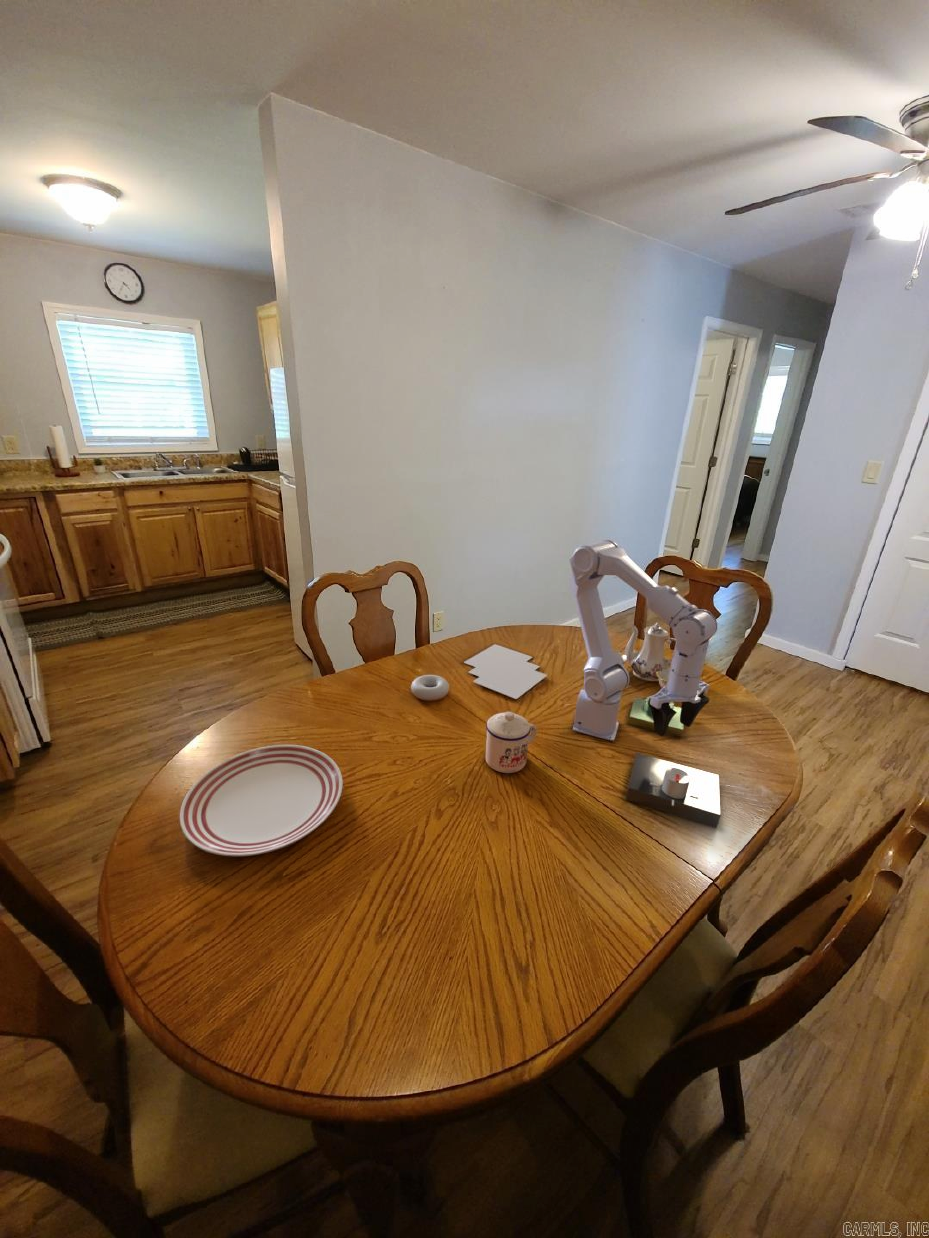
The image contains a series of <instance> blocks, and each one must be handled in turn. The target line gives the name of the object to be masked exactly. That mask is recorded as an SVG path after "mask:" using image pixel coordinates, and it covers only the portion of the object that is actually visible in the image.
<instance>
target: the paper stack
mask: <svg viewBox="0 0 929 1238" xmlns="http://www.w3.org/2000/svg"><path fill="white" fill-rule="evenodd" d="M532 659H533V656H531V655H528V654H525V653H523V652H519V651H517V650H514V649H510V648H508V647H505V646H502V645H499V644H496V643H495V644H492V645H491V646H489V647H487V648H486V649H484V650H482V651H480V652H479V653H477V654H475V655H473V656H472V657H470V658H468V659H467V660H465V661H463V663H464V664H466V665H468V666H471V667H474V668H472V669H470V670H469V671H468V672H467V673H468V674H471V675H474V676H476V677H477V678H475V679H474V680H473V681H472V683H475V684H478V685H479V686H482V687H485V688H488V689H490V690H492V691H494V692H496V693H497V692H498V693H499V694H502V695H504V696H507V697H510V698H512V699H515V700H517V699H519V698H520V697H521V696H523V695H524V694H525V693H526V692H528V691H529V690H531V689H532V688H533V687H534V686H535V685H537V684H538V683H540V682H541V681H542V680H544V679H545V678H546V677H548V674H547V673H543V672H541V671H538V670H537V669H538V668H540V667H541V666H540V665H537V664H534V663H532V662H529V661H530V660H532Z"/></svg>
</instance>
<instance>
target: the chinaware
mask: <svg viewBox="0 0 929 1238" xmlns="http://www.w3.org/2000/svg"><path fill="white" fill-rule="evenodd" d="M630 628H632V629H631V630H632V635H631V636H630V638H629V640H628V642H627V643H626V645H625V649H624V654H623V653H622V652H621V651H620V650H618V649H612V650H613V653H614V654H615V655H617V656H618V657H620V658H621V660H622V664H623V666H624V665H625V663H626V662H628V663H629V664H630V667H631V669H632V674H633V676H634V677H636V678H638V679H639V680H642V681H646V682H652V683H655V682H658V684H659V687H660V688H661V689H662V688H663V687H664V686H665V685H667V681H668V676H669V671H670V667H671V662H672V658H666V654H665V643H667V644H668V645H671V644H672V641H674V642H676V639H675V637H668V636H669V632H668V631H667V630H665V629H664V628H663V627H662V626H661V625H660V623H659V622H656V623H655V624H654V625H651V626H649V627H645V628H644V629H643V631H644V639H643V642H642V644H641V647H640V648H639V650H636V649H635V647H636V646H635V645H636V643H637V640H638V636H639V630H638V628H637V627H636V625H633V624H631V625H630Z"/></svg>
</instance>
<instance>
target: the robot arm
mask: <svg viewBox="0 0 929 1238" xmlns="http://www.w3.org/2000/svg"><path fill="white" fill-rule="evenodd" d="M569 565H570V568H571V573H570V574H571V575H570V588H571V591H572V592H571V593H572V595H573V600H574V603H575V608H576V612H577V616H578V620H579V624H580V629H581V633H582V636H583V641H584V645H585V648H586V652H587V657H588V660H587V661H586V663H585V665H584V668H583V670H582V671H583V672H582V673H583V676H584V678H583V688H584V689H580V691H579V694H578V696H577V701H576V707H575V713H574V723H573V727H572V731H573V732H576V733H577V732H578V733H582V734H585V735H588V736H592V737H595V738H600V739H603V740H607V741H610V742H614V741H615V739H616V735H617V732H618V729H619V724H620V722H619V721H618V716H619V710H620V704H621V700H622V694H623V690H625V689H626V688H627V687H628V686H629V685H630V675H629V671H628V670H627V668H625V666H624V665H623V664H622V660H621V658H620V657H618V656H617V655H615V654H614V653H613V650H614V649H613V647H612V642H611V638H610V635H609V630H608V626H607V622H606V618H605V614H604V609H603V605H602V601H601V597H600V593H599V589H598V585H599V584H600V582H601V581H602V580H603V578H604V577H605V576H616V577H617V578H619V579H620V580H621V581H623V582H624V583H626V584H627V585H628V586H629V587H630V588H632V589H633V590H635V592H637V593H638V594H640V595H641V596H642V597H644V598H645V599H646V608H647V609H649V610H650V611H651V612H652V613H653V614H654V615H655V616H657V617H658V618H659V619H660V620H661V621H663V622H664V623H665V624H666V625H667V626H668V627H670V628H671V629H672V636H673V638H674V639H676V641H675V645H674V648H673V653H672V657H671V659H672V662H671V666H669V669H670V671H669V676H668V681H667V685H665V686H664V687H663V688H661V689H660V690H659V691H658V692H656V693H654V694H655V695H654V694H653V696H651V695H650V696H651V698H650V699H649V700H648V705H649V707H650V709H651V712H652V715H653V721H654V730H653V732H654V733H656V734H657V735H658V736H660V737H664V736H666V735H667V734H666V732H667V729H668V726H669V723H670V721H671V719H672V718H673V716H674V715H675V714H676V713H677V712H676V711H674V710H673V709H671V708H670V706H669V703H670V702H673V703H681V707H680V708H681V714H680V722H681V723H682V724H684V726H686V727H687V728H690V727H691V726H692V724H693V723H694V721H695V719H696V718H697V716H698V714H699V713H700V712H701V710H702V709H703V708H704V707H705V706H706V705H708V704H709V703H710V698H709V696H706V695H705V694H708V692H709V688H710V684H709V683H707V682H705V681H703V680H701V678H702V673H703V669H704V665H705V661H706V658H707V652H708V648H709V643H710V639H711V638H713V636H714V635H715V634H716V633H717V631H718V621H717V618H716V617H715V616H714V615H713V614H712V612H711V611H709V610H707V609H704V608H703V609H702V608H701V609H699V607H697V606H696V605H695V604H691V603H690V602H689V601H688V600H687V599H685V598H684V597H683V596H681V595H680V594H679V589H677V588H676V587H675V586H672V587H670V586H669V585H659V584H657V582H655V581H654V580H653V578H652V577H650V576H649V574H647V573H646V572H645V571H644V570H643V569H642V568H641V567H639V565H637V564H636V562H635V561H633V559H632V558H630V557H629V556H628V554H627V551H626V550H625V549H624V548H623V547H621V546H619V545H618V544H617V543H616V542H615V541H614V540H610V539H605V540H602V541H598V542H595V543H590V544H583V545H579V546H578V547H576V548H575V550H574V551H573V552H572V554H571V556H570V557H569Z"/></svg>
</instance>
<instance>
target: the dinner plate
mask: <svg viewBox="0 0 929 1238" xmlns="http://www.w3.org/2000/svg"><path fill="white" fill-rule="evenodd" d="M343 785H344V782H343V776H342V772H341V769H340V768H339V766H338V764H337V763H336V762H335V760H333V759H332V758H331V757H330V756H329V755H328V754H326V753H325V752H322V751H320V750H318V749H315V748H312V747H310V746H305V745H299V744H298V745H297V744H275V745H274V744H273V745H268V746H262V747H258V748H253V749H249V750H247V751H244V752H241V753H238V754H236V755H233V756H231V757H229V758H227V759H225V760H224V761H222V762H220V763H218V764H216V765H215V766H213V767H212V768H211V769H209V770H208V771H206V772H205V773H204V774H202V775H201V777H200V778H198V780H197V781H195V783H194V784H193V785H192V786H191V787H190V789H188V792H186V795H185V796H184V798H183V801H182V803H181V806H180V810H179V825H180V829H181V831H182V833H183V835H184V837H185V838H186V839H187V840H188V841H189V842H190V843H191V844H192V845H194V846H195V847H196V848H198V849H200V850H202V851H205V852H206V853H210V854H213V855H218V856H224V857H250V856H256V855H262V854H267V853H271V852H274V851H278V850H280V849H284V848H286V847H288V846H290V845H292V844H294V843H296V842H297V841H300V840H302V839H303V838H305V837H306V836H308V835H309V834H311V833H312V832H314V831H315V830H316V829H317V828H318V827H319V826H321V825H322V824H323V823H324V822H325V821H326V820H327V819H328V818H329V817H330V815H331V814H332V813H333V811H334V810H335V808H336V806H337V805H338V803H339V801H340V798H341V796H342V793H343Z"/></svg>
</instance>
